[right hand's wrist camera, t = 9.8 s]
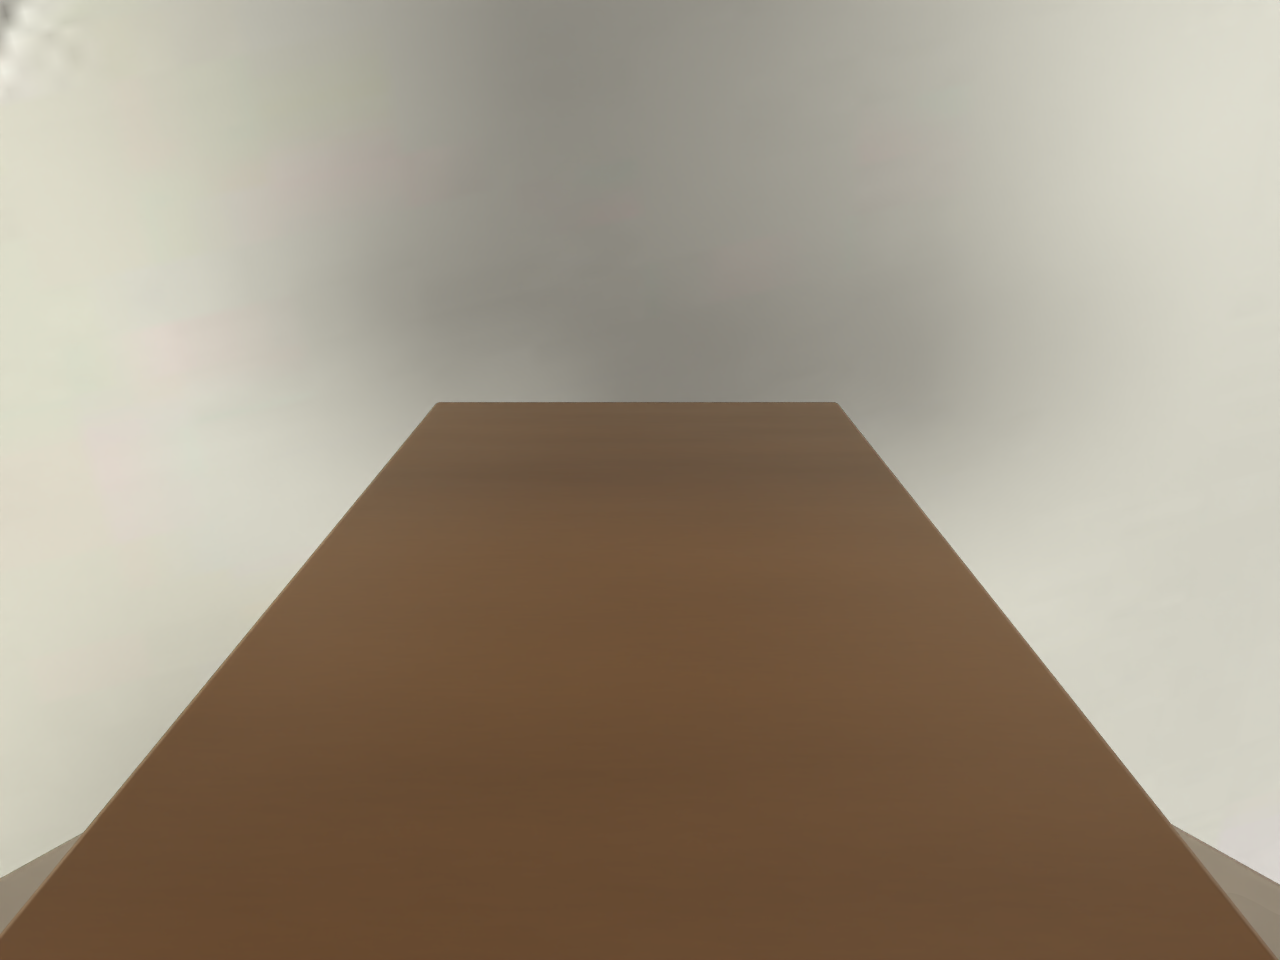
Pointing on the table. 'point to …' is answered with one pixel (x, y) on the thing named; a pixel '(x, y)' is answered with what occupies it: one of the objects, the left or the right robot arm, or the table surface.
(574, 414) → the bar
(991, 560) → the table surface
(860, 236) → the table surface
